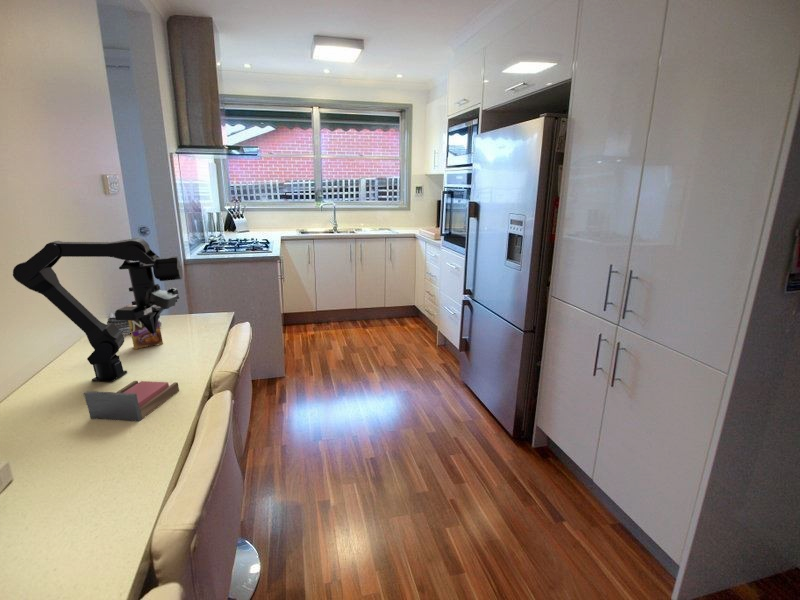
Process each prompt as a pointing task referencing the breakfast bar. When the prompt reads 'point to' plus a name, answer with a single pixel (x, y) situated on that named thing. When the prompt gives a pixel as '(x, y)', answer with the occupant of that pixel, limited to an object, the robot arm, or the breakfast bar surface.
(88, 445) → the breakfast bar surface
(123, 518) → the breakfast bar surface
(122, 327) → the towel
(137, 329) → the candy box
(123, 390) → the slot rails
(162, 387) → the pink rectangular block
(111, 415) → the bookend
